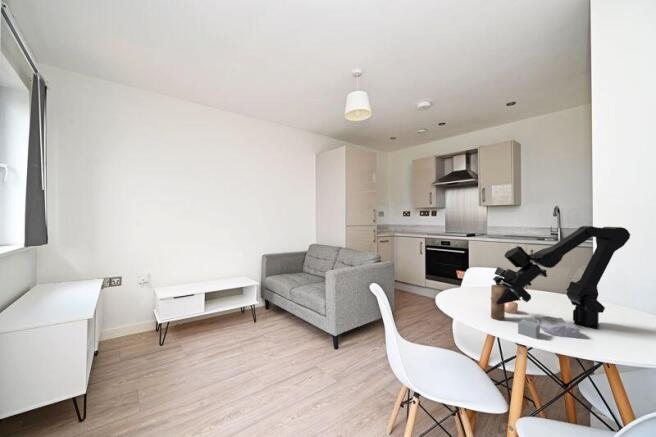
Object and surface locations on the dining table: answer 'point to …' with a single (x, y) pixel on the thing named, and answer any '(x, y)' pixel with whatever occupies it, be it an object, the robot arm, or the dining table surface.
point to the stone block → (558, 327)
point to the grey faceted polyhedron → (529, 328)
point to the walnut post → (496, 309)
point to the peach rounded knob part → (511, 308)
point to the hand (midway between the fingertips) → (494, 301)
